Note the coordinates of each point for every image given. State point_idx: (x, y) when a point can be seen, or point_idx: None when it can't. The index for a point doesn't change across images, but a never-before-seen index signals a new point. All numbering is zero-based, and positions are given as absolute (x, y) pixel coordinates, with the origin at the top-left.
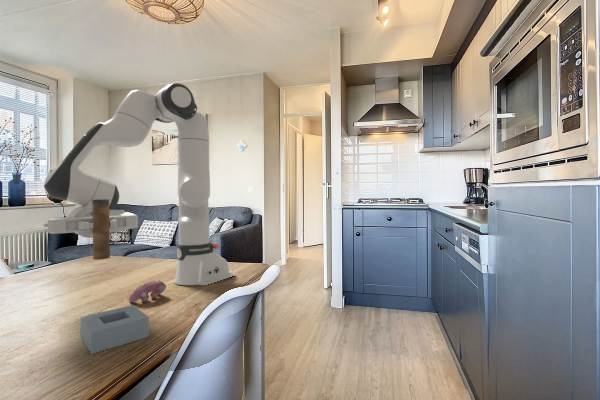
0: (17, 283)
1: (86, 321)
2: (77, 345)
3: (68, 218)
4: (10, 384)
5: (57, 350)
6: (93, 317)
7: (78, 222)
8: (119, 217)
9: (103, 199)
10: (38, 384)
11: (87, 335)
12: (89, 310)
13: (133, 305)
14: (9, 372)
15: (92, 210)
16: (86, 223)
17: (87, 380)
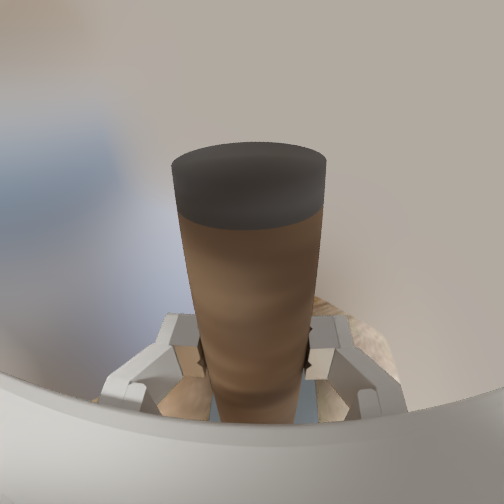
0: None
1: (311, 392)
2: (320, 407)
3: (478, 405)
4: (386, 350)
5: (347, 408)
6: (297, 404)
7: (398, 393)
8: (67, 395)
9: (199, 175)
10: (360, 335)
11: None
12: None
13: (210, 417)
14: (395, 378)
15: (318, 258)
16: (345, 319)
17: (316, 315)
